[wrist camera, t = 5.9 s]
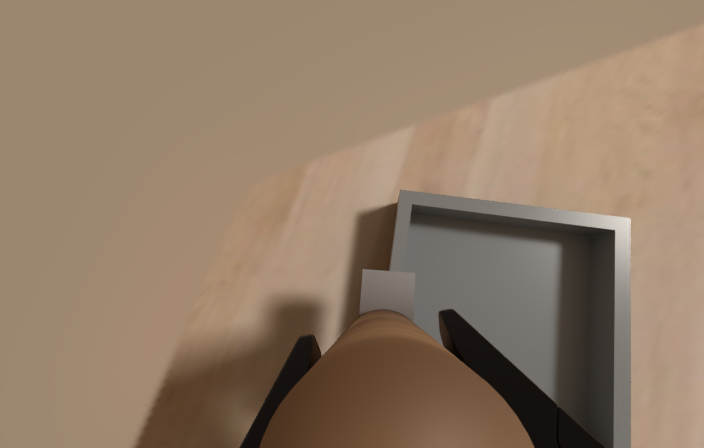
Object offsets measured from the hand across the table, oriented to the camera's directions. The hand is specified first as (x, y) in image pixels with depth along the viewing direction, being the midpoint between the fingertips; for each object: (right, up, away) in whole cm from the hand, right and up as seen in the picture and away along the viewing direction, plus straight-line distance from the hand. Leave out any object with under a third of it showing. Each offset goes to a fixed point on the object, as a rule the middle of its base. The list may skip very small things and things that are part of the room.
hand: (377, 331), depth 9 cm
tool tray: (+8, -3, +11) cm, 14 cm away
